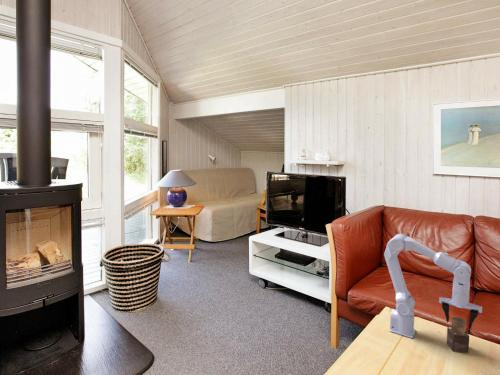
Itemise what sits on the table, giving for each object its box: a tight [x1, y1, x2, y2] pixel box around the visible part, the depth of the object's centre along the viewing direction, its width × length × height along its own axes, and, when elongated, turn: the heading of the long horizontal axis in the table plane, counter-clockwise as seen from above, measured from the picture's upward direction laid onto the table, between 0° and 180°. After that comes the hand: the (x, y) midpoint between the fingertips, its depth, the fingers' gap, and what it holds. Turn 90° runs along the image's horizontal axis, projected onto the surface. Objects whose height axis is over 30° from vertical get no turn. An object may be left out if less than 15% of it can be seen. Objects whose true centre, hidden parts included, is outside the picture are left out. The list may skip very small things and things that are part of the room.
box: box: [446, 326, 470, 354], centre depth 129 cm, size 6×6×7 cm
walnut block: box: [450, 315, 467, 335], centre depth 129 cm, size 4×4×5 cm
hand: (458, 323), depth 129 cm, fingers open, 7 cm apart
